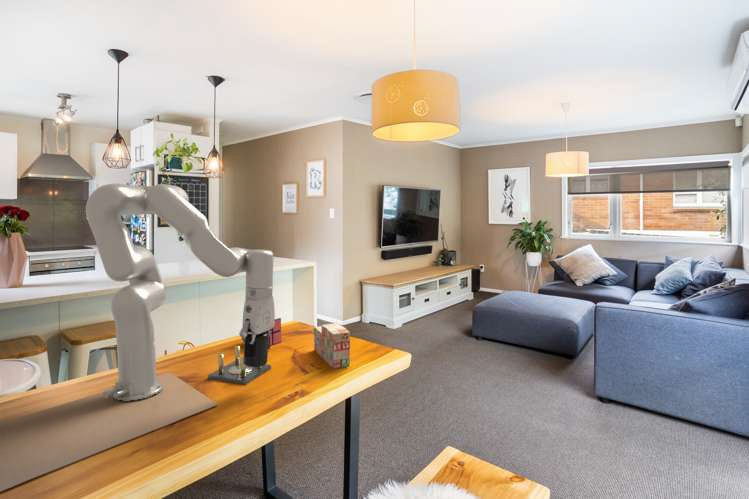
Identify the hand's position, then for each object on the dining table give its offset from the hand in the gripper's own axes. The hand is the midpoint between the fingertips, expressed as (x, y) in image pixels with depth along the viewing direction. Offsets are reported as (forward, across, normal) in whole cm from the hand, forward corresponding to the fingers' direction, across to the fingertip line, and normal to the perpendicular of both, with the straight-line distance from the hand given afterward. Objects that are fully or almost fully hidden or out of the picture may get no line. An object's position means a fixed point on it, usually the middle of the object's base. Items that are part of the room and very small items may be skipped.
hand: (257, 352), depth 123 cm
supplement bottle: (+4, 0, 0) cm, 4 cm away
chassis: (+12, +10, +12) cm, 20 cm away
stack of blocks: (+11, +33, -9) cm, 36 cm away
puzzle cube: (+12, +40, +23) cm, 48 cm away
